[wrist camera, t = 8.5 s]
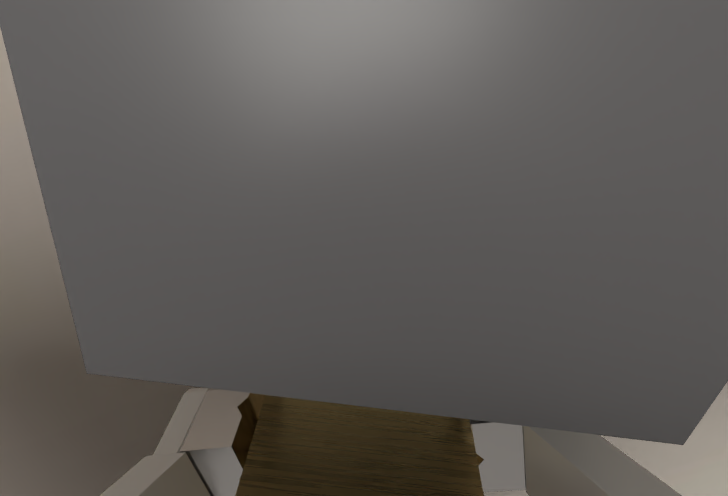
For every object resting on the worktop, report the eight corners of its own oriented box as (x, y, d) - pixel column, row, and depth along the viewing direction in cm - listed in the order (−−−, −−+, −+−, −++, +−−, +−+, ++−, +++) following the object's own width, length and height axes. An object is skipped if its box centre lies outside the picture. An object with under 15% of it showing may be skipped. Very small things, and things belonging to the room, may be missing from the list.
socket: (525, 191, 10) (683, 445, 5) (253, 156, 10) (87, 373, 5) (588, -17, 8) (994, -2, 3) (252, -61, 8) (-43, -139, 3)
